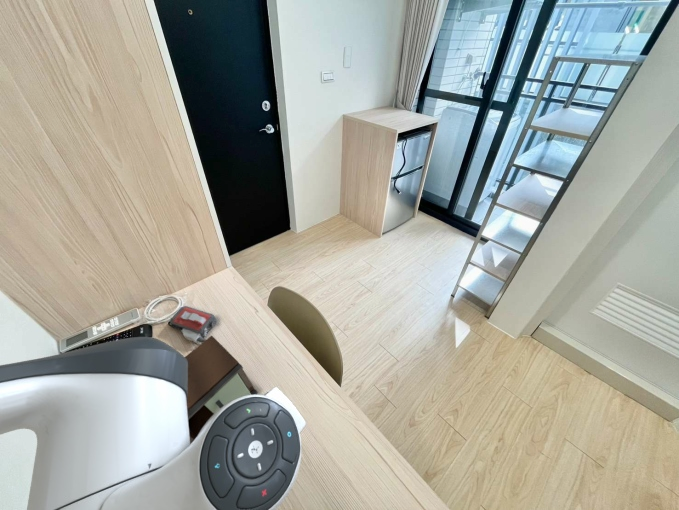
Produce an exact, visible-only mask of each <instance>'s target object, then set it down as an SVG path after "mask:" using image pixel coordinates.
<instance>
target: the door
mask: <svg viewBox="0 0 679 510" xmlns="http://www.w3.org/2000/svg"><path fill="white" fill-rule="evenodd" d="M247 395H251V393H250V392H249V390H248V389H247V387H246V386H245V384H244V382H243V381H242V379H241V378H240V376H239V375H238V373H237V374H236V375H235V376H234V377H233V378H232V379H231V380H230V381H229V382H228V383H227V384H226V385H225V386H224V387H222V388H221V389H220V390H219V391H218V392H217V393H216V394H215V395H214V396H213V397H212V398H211V399H210V400H209V401H208V402H207V403H206V404H205V406H206V407H207V408H208V409H209V410H210V411H212V412H213V413H214V414H215V413H216V412H217V411H218V410H219V409H220V408H222V407H223V406H224V405H226V404H227V403H229V402H231V401H233V400H235V399H237V398H240V397H243V396H247Z"/></svg>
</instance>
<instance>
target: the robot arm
mask: <svg viewBox="0 0 679 510" xmlns="http://www.w3.org/2000/svg"><path fill="white" fill-rule="evenodd" d="M185 357H186V356H184V355H183V354H182V353H181V352H179V351H178V350H177V349H176V348H174V347H173V346H171V344H168V343H166V342H164V341H163V340H161V339H158V338H156V337H153V336H152V337H151V336H136V337H135V336H134V337H127V338H120V339H115V340H111V341H106V342H102V343H98V344H97V343H96V344H93V345H90V346H86V347H82V348H78V349H74V350H69V351H66V352H62V353H58V354H54V355H50V356H44V357H39V358H35V359H28V360H21V361H17V362H11V363H6V364H0V435H4V434H7V433H10V432H13V431H17V430H23V429H24V430H30V431H31V432H33V433H34V434H35V436H36V450H35V456H34V461H33V469H32V475H31V480H30V487H29V494H28V499H27V507H26V510H277V509H278V508H279V507H280V506H281V505H282V503H284V501H285V500H286V498H287V497H288V495H289V494H290V492H291V491H292V488H294V485H295V483H296V481H297V478H298V475H299V472H300V466H301V462H302V438H301V437H302V436H301V433H302V431H303V430H304V429H305V427H306V425H307V422H306V420H305V418H304V417H303V415H302V414H301V413H300V411H299V410H298V408H297V407H296V405H294V404H293V402H292V400H290V399H289V398H288V396H287V395H286V394H285V393H283V391H282V390H280V389H279V388H278V387H277V386H275V387H272V388H271V389H270V390H269V391H267V392H266V393H265V394H256V395H247V396H243V397H240V398H237V399H235V400H233V401H231V402H229V403H227V404H226V405H224V406H223V407H222V408H220V409H219V410H218V411H217V412H216V413H215V414H214V415H213V416H211V418H210V419H209V420H208V421H207V422H206V424H205V425H204V426H203V428H202V429H201V431H200V432H199V434H198V436H197V437H196V438H195V440H194V441H193V442H192V443H191V444H190V435H189V424H188V413H187V402H186V400H187V397H188V361H187V359H186V358H185Z"/></svg>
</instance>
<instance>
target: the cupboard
mask: <svg viewBox="0 0 679 510" xmlns="http://www.w3.org/2000/svg"><path fill="white" fill-rule="evenodd" d="M184 357H185V358H186V359H187V361H188V397H187V400H186V402H187V413H188V424H189V435H190V444H191V443H192V442H193V441H194V440H195V438H196V437H197V436H198V434H199V432H200V431H201V429H202V428H203V426H204V425H205V424H206V422H207V421H208V420H209V419H210V418H211V416H213V415H214V413H213V412H212V411H210V410H209V409H208V408H207V407H206V406H205V404H206V403H207V402H208V401H209V400H210V399H211V398H212V397H213V396H214V395H215V394H216V393H217V392H218V391H219V390H220V389H221V388H222V387H224V386H225V385H226V384H227V383H228V382H229V381H230V380H231V379H232V378H233V377H234V376H235V375H236V374H237V373H238V375H239V376H240V378H241V379H242V381H243V382H244V384H245V386H246V387H247V389H248V390H249V392H250V393H251V395H258V394H259V392H258V391H257V389H255V387H254V385H253V383H252V382H251V381H250V379H249V377H248V375H247V374H246V372H245V370H244V367H243V365H242V364H241V363H240V362H239V361H238V360H237V359H236V358H235V357H234V356H233V355H232V354H231V353H230V352H229V351H228V350H227V348H225V347H224V346H223V344H221V343H220V341H218V340H217V339H216V338H215V337H214V336H213V335H210V336H209V337H208V338H207V339H206V340H205V341H204V342H201V344H199V345H198V346H196V348H194V349H193V350H192V351H190V352H189V353H187V354H186V355H185V356H184Z"/></svg>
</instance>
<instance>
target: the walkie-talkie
mask: <svg viewBox="0 0 679 510" xmlns="http://www.w3.org/2000/svg"><path fill="white" fill-rule="evenodd" d="M216 324H217V318H216V316H215V315H214V314H213V313H209V312H206V311H203V310H199V309H197V308H193V307H191V306H188V305H184V306H181V307H180V308H179V309H178V310H177V311H176V312H175V313H174V314H173V316H172V317H171V318H170V320H169V321H167V325H168V326H169V327H170V328H173V329H177V330H179V331H180V332H181V333H182V334H183V337H184V338H185V339H186V340H188V341H191V342H193V343H195V344H199V343H203V342H204V341H205V340H207V339H206V338H205V337H207V336H208V333H209V331H210V330H211V329H212V328H213V327H215V326H216Z"/></svg>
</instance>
